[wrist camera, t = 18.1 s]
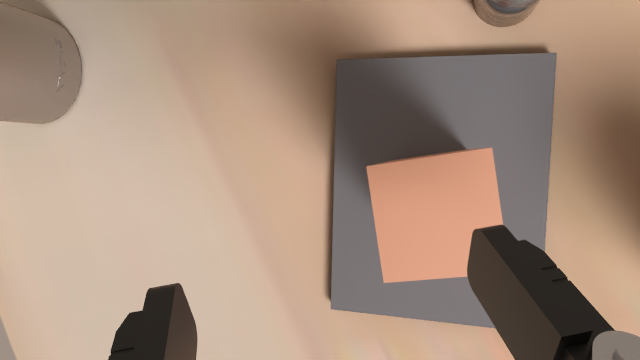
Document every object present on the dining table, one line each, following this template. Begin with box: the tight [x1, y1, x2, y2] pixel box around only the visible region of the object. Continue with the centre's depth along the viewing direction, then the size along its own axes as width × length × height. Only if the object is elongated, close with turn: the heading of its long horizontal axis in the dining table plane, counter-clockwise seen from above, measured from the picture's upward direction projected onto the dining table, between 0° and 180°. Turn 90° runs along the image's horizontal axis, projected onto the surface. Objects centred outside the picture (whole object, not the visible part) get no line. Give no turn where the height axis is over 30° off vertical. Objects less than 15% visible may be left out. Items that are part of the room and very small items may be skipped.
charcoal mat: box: [331, 53, 556, 328], centre depth 29 cm, size 14×18×1 cm
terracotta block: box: [366, 148, 503, 283], centre depth 23 cm, size 5×5×12 cm
